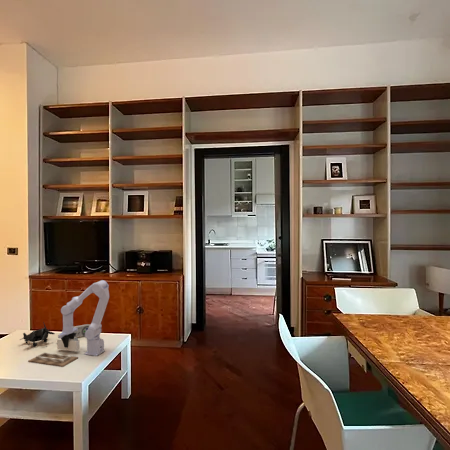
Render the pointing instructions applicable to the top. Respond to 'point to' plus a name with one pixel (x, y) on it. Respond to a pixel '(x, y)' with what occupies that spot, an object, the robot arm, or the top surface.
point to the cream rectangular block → (69, 345)
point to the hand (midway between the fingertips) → (68, 346)
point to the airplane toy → (37, 335)
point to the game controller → (81, 330)
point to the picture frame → (53, 359)
